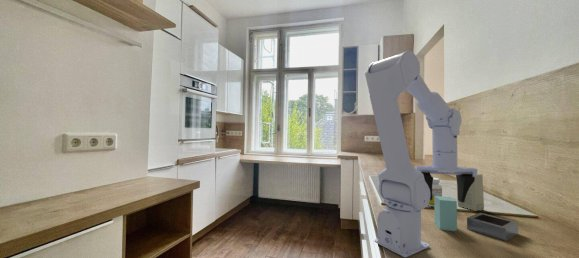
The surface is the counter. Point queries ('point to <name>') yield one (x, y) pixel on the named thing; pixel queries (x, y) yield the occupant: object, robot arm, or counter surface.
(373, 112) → the robot arm
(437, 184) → the supplement bottle
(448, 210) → the peg
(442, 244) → the counter surface
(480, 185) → the skincare box
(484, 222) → the socket
